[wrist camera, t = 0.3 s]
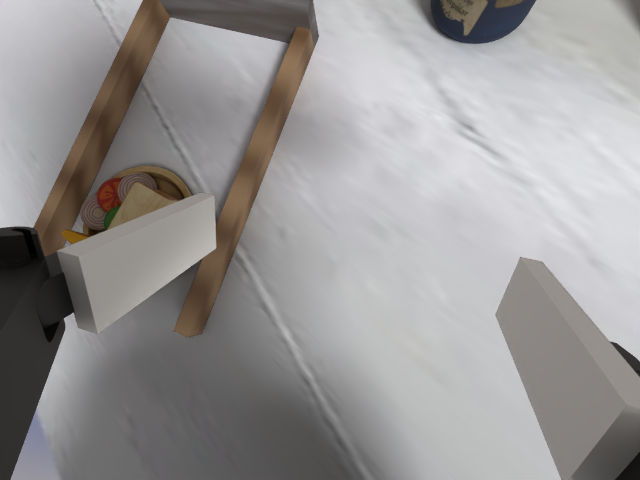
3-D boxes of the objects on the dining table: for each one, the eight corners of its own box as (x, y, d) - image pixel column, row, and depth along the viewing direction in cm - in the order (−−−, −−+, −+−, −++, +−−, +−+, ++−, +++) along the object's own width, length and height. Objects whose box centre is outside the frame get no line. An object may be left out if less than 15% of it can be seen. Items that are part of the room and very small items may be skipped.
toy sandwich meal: (141, 149, 35) (107, 127, 30) (231, 214, 32) (209, 201, 27) (70, 240, 34) (24, 231, 29) (156, 315, 31) (121, 318, 27)
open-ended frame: (201, 333, 30) (170, 341, 25) (41, 265, 33) (-14, 260, 29) (318, 36, 34) (311, -7, 29) (164, 4, 37) (135, -40, 33)
